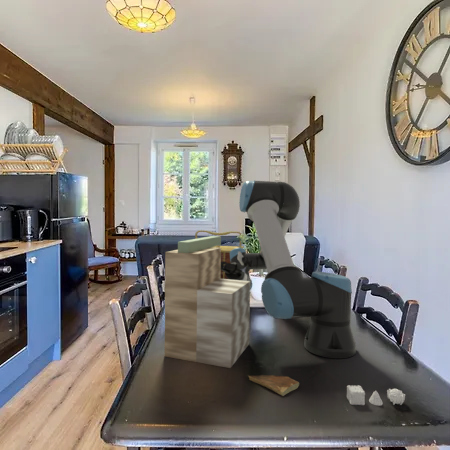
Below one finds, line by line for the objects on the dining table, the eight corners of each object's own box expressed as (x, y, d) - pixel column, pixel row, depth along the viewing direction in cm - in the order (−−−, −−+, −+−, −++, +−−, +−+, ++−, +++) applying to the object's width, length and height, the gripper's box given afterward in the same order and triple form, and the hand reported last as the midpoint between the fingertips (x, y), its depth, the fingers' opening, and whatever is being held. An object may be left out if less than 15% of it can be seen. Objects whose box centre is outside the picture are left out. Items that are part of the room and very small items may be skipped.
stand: (191, 335, 116) (192, 246, 115) (249, 344, 109) (250, 249, 108) (164, 356, 99) (165, 252, 98) (230, 368, 92) (232, 256, 91)
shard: (247, 381, 86) (247, 373, 86) (267, 372, 91) (268, 365, 91) (281, 398, 78) (281, 391, 78) (301, 387, 83) (302, 380, 83)
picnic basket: (245, 278, 217) (246, 230, 215) (237, 286, 192) (238, 232, 190) (200, 275, 223) (201, 229, 222) (187, 283, 198) (188, 231, 197)
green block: (212, 244, 122) (212, 235, 122) (220, 244, 121) (220, 236, 121) (177, 252, 97) (177, 241, 97) (188, 253, 96) (188, 242, 96)
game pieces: (350, 406, 75) (351, 392, 75) (346, 398, 79) (346, 384, 79) (407, 408, 75) (407, 393, 75) (400, 399, 78) (400, 385, 78)
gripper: (264, 285, 138) (252, 265, 120) (206, 280, 146) (187, 261, 128) (266, 268, 141) (255, 246, 123) (210, 263, 149) (192, 243, 132)
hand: (220, 253), depth 126 cm, fingers open, 13 cm apart
